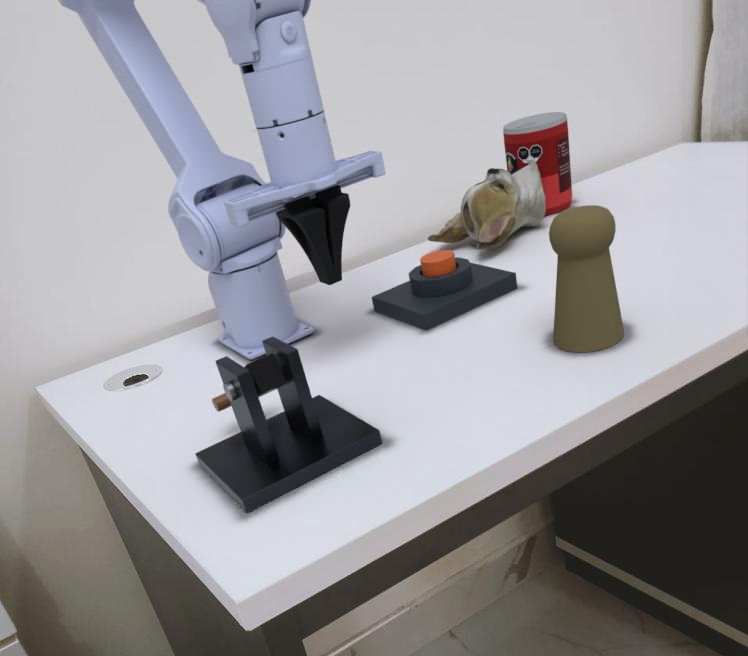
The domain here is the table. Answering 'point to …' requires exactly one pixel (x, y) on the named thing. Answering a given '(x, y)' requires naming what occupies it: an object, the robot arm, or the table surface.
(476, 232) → the ceramic sculpture
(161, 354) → the table surface
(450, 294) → the button box
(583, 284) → the olive pawn
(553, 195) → the canned food
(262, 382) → the lever
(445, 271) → the button
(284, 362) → the bracket
